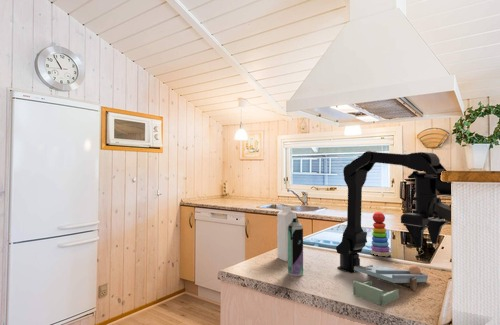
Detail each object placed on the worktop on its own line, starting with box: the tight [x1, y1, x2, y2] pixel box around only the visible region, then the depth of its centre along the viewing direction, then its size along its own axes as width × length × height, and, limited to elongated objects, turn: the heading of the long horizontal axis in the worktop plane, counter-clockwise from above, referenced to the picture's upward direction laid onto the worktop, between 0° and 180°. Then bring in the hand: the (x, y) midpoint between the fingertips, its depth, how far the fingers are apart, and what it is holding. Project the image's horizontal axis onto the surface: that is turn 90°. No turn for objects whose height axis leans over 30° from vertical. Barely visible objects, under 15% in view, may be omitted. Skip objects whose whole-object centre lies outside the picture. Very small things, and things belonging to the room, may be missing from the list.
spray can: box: [287, 217, 304, 277], centre depth 109 cm, size 6×6×20 cm
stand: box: [366, 264, 418, 292], centre depth 100 cm, size 16×2×3 cm, turn 34°
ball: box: [408, 264, 422, 275], centre depth 101 cm, size 4×4×4 cm
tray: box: [352, 280, 400, 307], centre depth 88 cm, size 9×8×4 cm
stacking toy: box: [370, 211, 391, 257], centre depth 133 cm, size 8×8×19 cm
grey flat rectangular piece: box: [354, 265, 428, 284], centre depth 100 cm, size 14×20×2 cm
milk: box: [276, 205, 298, 262], centre depth 127 cm, size 6×6×22 cm
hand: (427, 245), depth 90 cm, fingers open, 9 cm apart
